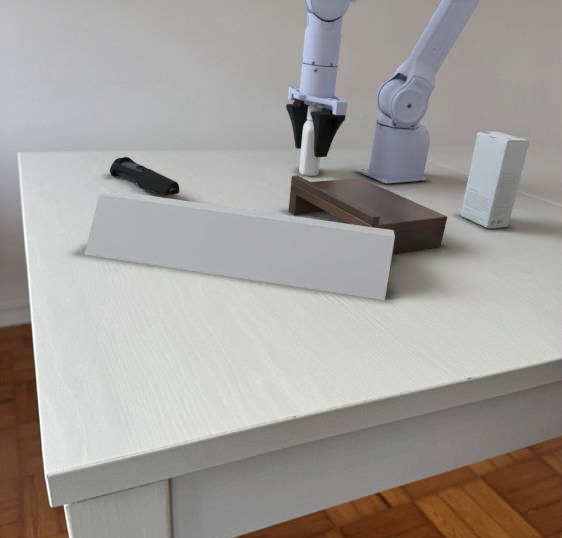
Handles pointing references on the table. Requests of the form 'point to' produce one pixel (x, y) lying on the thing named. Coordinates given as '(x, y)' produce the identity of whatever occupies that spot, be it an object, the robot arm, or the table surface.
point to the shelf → (370, 210)
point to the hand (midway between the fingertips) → (310, 152)
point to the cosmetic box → (494, 178)
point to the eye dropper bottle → (309, 147)
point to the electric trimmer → (144, 177)
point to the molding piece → (242, 243)
